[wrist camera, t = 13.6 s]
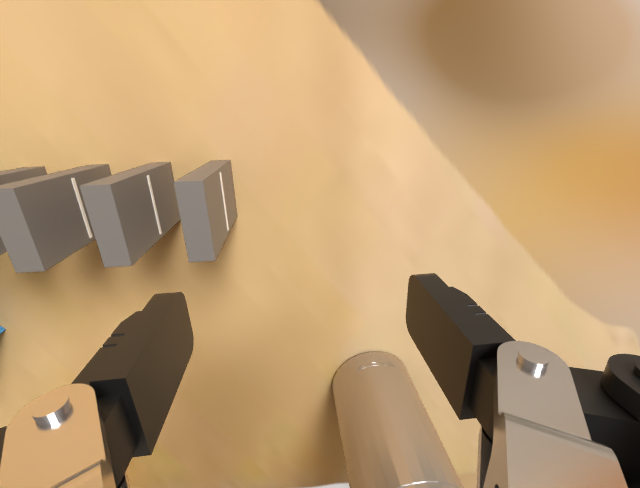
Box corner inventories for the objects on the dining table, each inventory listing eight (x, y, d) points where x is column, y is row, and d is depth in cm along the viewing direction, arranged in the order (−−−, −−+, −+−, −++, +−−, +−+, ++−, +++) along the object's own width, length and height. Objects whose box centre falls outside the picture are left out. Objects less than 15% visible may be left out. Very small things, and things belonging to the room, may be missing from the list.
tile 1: (237, 215, 29) (216, 260, 20) (219, 216, 29) (188, 262, 20) (231, 159, 27) (203, 180, 18) (210, 160, 27) (172, 182, 18)
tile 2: (181, 218, 29) (132, 265, 19) (162, 219, 28) (103, 267, 19) (171, 162, 27) (110, 184, 18) (150, 162, 27) (78, 185, 17)
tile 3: (124, 221, 28) (45, 271, 19) (104, 222, 28) (15, 272, 19) (109, 164, 26) (13, 188, 17) (87, 164, 26) (-21, 189, 17)
